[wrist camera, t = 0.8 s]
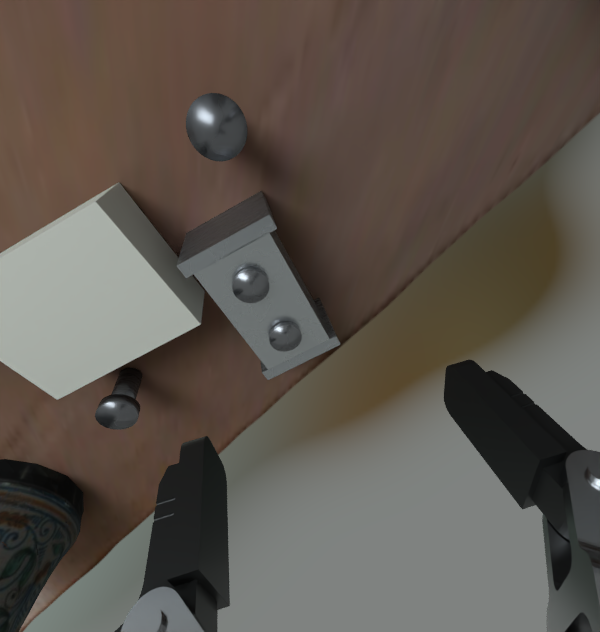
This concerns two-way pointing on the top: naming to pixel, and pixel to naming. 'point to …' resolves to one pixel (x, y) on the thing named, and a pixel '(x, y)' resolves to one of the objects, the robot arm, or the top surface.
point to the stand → (91, 295)
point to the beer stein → (32, 533)
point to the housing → (258, 286)
